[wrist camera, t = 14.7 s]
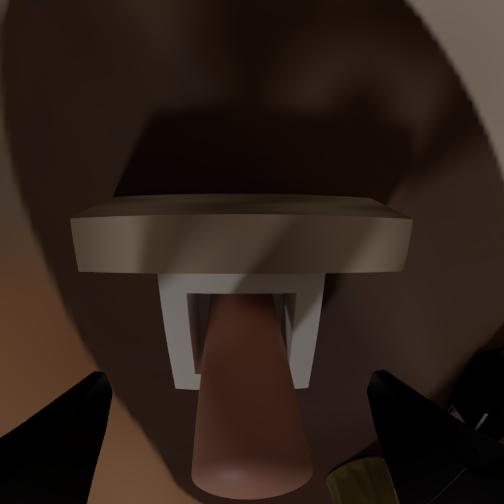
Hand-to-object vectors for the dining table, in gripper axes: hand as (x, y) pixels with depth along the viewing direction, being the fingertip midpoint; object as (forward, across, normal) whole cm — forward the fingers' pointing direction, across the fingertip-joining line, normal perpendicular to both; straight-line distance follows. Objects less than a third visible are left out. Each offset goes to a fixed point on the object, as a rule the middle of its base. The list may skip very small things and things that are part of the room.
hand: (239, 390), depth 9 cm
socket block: (+6, 0, 0) cm, 6 cm away
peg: (+6, 0, 0) cm, 6 cm away
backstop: (+6, 0, -4) cm, 7 cm away
